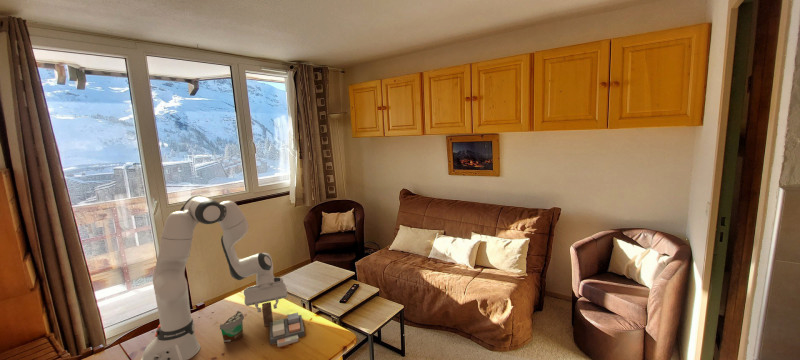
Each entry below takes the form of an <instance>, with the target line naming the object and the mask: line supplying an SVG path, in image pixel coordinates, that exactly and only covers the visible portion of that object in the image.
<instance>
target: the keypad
mask: <svg viewBox="0 0 800 360" xmlns="http://www.w3.org/2000/svg"><path fill="white" fill-rule="evenodd" d="M298 315H299V322H298V323H300V329H301V330H300V331H296V332H292V333H289V324H288V317H286V318H283V319H284V330H285V334H283V335H279V336H275V337H273V322H270V325H269V345H271V346H272V345H277V348H279V347H283V346H287V345H290V344H293V343H297V342H299V338H301V337H305V335H306V334H305V327H304V322H303V317H302V314H298ZM294 324H295V323H294ZM290 325H291V324H290Z"/></svg>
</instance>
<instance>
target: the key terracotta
mask: <svg viewBox="0 0 800 360" xmlns="http://www.w3.org/2000/svg"><path fill="white" fill-rule="evenodd" d="M300 330H301V329H300V323H295V324H291V325H289V333H292V332H296V331H300Z"/></svg>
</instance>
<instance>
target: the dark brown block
mask: <svg viewBox="0 0 800 360" xmlns="http://www.w3.org/2000/svg"><path fill="white" fill-rule="evenodd" d="M261 312H262V319H263V325H264V326H263V327H267V326H270V322H273V321H274V317H273V310H272V301H268V302H264V303H261Z"/></svg>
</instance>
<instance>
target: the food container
mask: <svg viewBox="0 0 800 360" xmlns="http://www.w3.org/2000/svg"><path fill="white" fill-rule="evenodd" d="M244 317H245V316H244V314H243V313H242V312H241V311H240V310H237V311H236V313H235V314H234V315H233V316H231V317H229V318H228V319H227V320H226V321H225V322H224V323H223V324H221V323H220V324H219V330H221V331H220V332H221V335H222V339H223V343H224V344H231V343H234V342H236V341H239V340H240V339H241V338H242V337H243V336H244V330H243V329H244V327H243V325H244V324H243V321H244Z"/></svg>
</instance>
